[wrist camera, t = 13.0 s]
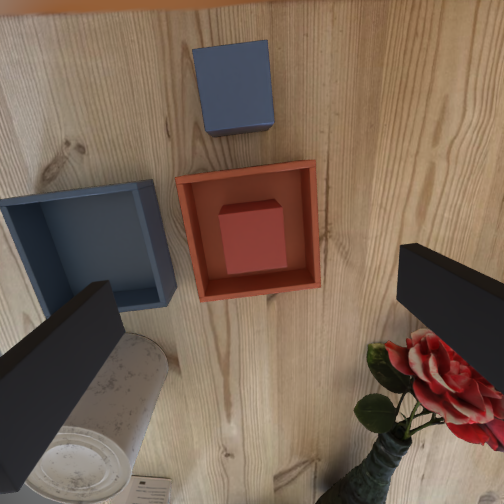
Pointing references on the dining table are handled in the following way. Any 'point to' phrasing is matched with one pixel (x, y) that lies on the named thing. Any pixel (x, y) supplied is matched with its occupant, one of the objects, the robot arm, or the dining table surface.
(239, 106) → the blue block
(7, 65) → the dining table surface
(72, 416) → the grey tin can
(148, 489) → the container
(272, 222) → the red block
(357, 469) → the flower vase
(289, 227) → the red bin
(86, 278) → the blue bin
